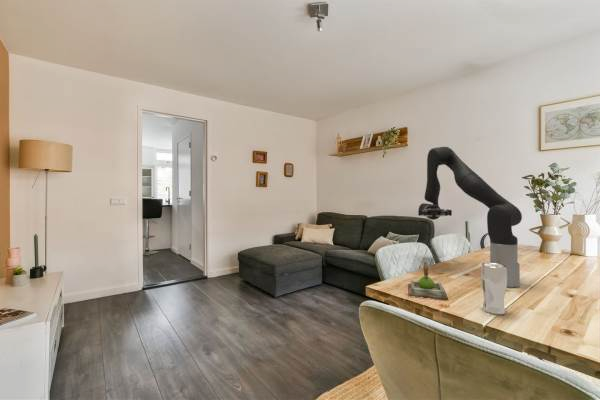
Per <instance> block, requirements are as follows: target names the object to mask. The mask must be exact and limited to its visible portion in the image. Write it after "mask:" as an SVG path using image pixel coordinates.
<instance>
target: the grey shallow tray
mask: <svg viewBox="0 0 600 400" xmlns="http://www.w3.org/2000/svg"><path fill="white" fill-rule="evenodd" d="M418 282H419V280H410V283H408V284H407V288H408V297H409V296H415V297H414V298H418V297H423V298H422V299H427V298H430V299H429V300H437V299H439V301H446V300H448V301H449V297H448V295H447V293H446V290H445V288H444V287H443V286H442V283H441V282H434V287H433V289H432V290H431V289H421V288H420V287H419V283H418Z"/></svg>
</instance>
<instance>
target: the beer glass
mask: <svg viewBox="0 0 600 400" xmlns="http://www.w3.org/2000/svg"><path fill="white" fill-rule="evenodd" d="M480 282H481V288H482V294H483V303H482V311H484V312H486V313H488V314H491V315H497V316H503V315H506V307H505V297H506V292H507V288H508V287H507V270H506V266H505V265H502V264H497V263H490V262H482V263H481V269H480Z"/></svg>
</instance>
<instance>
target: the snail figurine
mask: <svg viewBox="0 0 600 400" xmlns="http://www.w3.org/2000/svg"><path fill="white" fill-rule="evenodd" d="M422 269H423V276H422V277H420V278H419V279H418V281H419V282H418V283H419V287H420V288H421V289H431V290H432V289H433V287H434V283H435V282H434V280H433V279H432V278H431V277H429V264H428V262H427V257H423V268H422Z"/></svg>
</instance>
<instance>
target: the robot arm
mask: <svg viewBox="0 0 600 400" xmlns="http://www.w3.org/2000/svg"><path fill="white" fill-rule="evenodd" d="M442 165H443V166H446V167H447V168H449V170H451V171H452V172H453V176H454V181H455V184H456V186H457V187H458V188H460V190H462V192H464V193H465V194H466V195H467V196H469V197H470V198H472V199H474V200H476V201H478V202H480V203H481V204H483V205H485V206H486V207H487V208H488V210H487V215H486V221H487V222H486V224H487V235H488V237H489V243H490V244H489V263H497V264H502V265H505V266H506V270H507V287H506V288H520V286H521V285H520V284H521V283H520V279H521V278H520V273H521V272H520V268H521V267H520V265H521V264H520V263H518V262H519V261H518V259H519V258H518V251H519V250H518V247H519V245H518V237H517V236H515V235H514V233H513V230H512V229H513V227H514V226H518V225H519V224H520V223H521V221H522V218H523V216H522V215H523V214H522V212H521V211H520V209H519V208H518V207H517V206H516V205H514V204H513V203H512V202H510V201H509V200H507V199H505V197H503V196H502V195H500V194H499V193H498V192H497V191H496V190H495V189H494V188H493V187H492V186H490V184H488V183H487V182H486V181H485V180H484V179H483V178H482V177H481V176H479V174H477V173H476V172H475V171H474V170H472V168H470V167H469V166H468V165H467V164H466V163H465V162H464V161H463V160H462V159H461V157H459V156H458V155H457V153H456V152H454V150H453V149H452V148H450V147H449V146H439V147H433V148H431V149H429V150H428V153H427V158H426V186H425V187H426V188H425V192H424V197H423V198H424V200H425V201H426V202H428V203H425V202H423V203H421V204H420V205H419V206H418V210H417V211H418V214H417V215H418V217H419V216H423V217H426V218H428V219H430V220H432V221H433V220H438V219H439V218H440V217H447V216H449V217H451V216H452V214H453V213H452V209H448V208H447V209H444V208H441V207H440V206H439V196H440V191H441V183H440V180H439V178H438V169H439V167H440V166H442Z"/></svg>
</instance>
